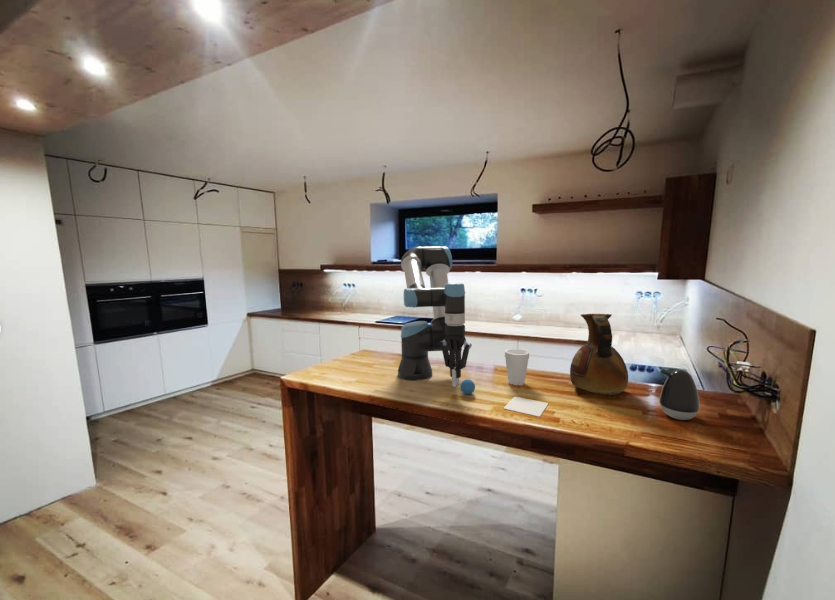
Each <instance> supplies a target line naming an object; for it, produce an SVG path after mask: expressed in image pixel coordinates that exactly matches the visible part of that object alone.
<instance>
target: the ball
mask: <svg viewBox="0 0 835 600" xmlns="http://www.w3.org/2000/svg"><path fill="white" fill-rule="evenodd" d="M459 386H460V391H461V392H462V393H463V394H465V395H471V394H473V393H474V391H475V390H476V384H475V382H474V381H473V380H472V379H468V378H467V379H463V380H462V381H461V383H460V384H459Z"/></svg>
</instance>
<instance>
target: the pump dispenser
mask: <svg viewBox="0 0 835 600" xmlns="http://www.w3.org/2000/svg"><path fill="white" fill-rule="evenodd" d="M660 373H661V374H663V375H665V376H667V378H666V380H665V381H664V384H663V385H662V389H661V390H660V391H661V392H660V394H659V400H658V401H659V404H660V407H661V409H662V411H663V413H665V414H666V415H667V416H669V417H671V418H673V419H676V420H679V421H689V420H691V419H693V418H695V416H696V415H697V414H698V412H699V411H700V404H701V403H700V397H699V391H698V388H697V384H696V382H695V381H694V380H695V379H694V378H693V376H692V375H691V374H690V372H688V371H687V370H684V369H674V370H673V371H672V372H669V371H667V370H665V369H661V370H660Z"/></svg>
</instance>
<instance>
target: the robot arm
mask: <svg viewBox="0 0 835 600" xmlns="http://www.w3.org/2000/svg"><path fill="white" fill-rule="evenodd" d="M400 267H401V270H402V271H403V272H404V278H405V284H406V288H404V289H403V305H404V307H406V308H427V307H429V308H432V312H433V319H432V320H431V322H430V324H429V323H428V321H427V320H426V321H425V320H418V321H417V320H416V321H412V322H407V323H405V324H403V325H402V327H401V328H400V340H401V342H400V344H401V346H400V347H401V350H400V351H401V358H400V362H399V366H398V370H397V376H398V378H400V379H402V380H406V381H423V380H428V379H429V378H432V376H433V368H432V366H431V362H430V359H429V352H442V355H443V361H444V365H445V367H446V368H449V376H450V378H451V386H452V387H454V388H457V387H458V386H460V378H461V377H462V372H461V371H462V370H463V369H465V368H466V366H467V362H468V358H469V352H470V349H471V348H472V343H469V342H468V341H467V339H466V325H465V323H466V303H465V302H466V290H465V284H464V283H462V282H456V283H455V282H454V283H453V282H451V283H450V282H449V279H448V278H449V277H448V274H449V273H450V270H452V268H453V255H452V253H451V249H449V247H447V246H441V245H438V246H415V247H412V248H411V249H409V250H407V251H406V252H405V253H404V254H403V256H402V257H401V260H400ZM422 271H425V273H426V275H427V276H428V277H429V282H430V287H426V285H425V281H424V278H423V274H422Z"/></svg>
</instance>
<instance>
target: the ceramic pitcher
mask: <svg viewBox="0 0 835 600" xmlns="http://www.w3.org/2000/svg"><path fill="white" fill-rule="evenodd" d="M612 315H613V314H612V313H611V314H610V313H586V314H585V313H583V314H580V316H581V317H582V318H583V319H584V321H585V323H586V325H587V329H588V336H587V337H588V338H587V341H586V343H585V344H584V345H582V346H581V347H580V348H579V349H578V350H577V351H576V353H575V354H574V356H573V357H572V360H571V363H570V367H569V375H570V377H569V378H570V382H571V384H572V385H573V386H574V387H576V388H579V389H581V390H584V391H588V392H589V393H590V392H591V393H597V394H602V395H603V394H604V395H610V396H613V395H618V394H620V393H623V392H624V391H625V390H626V389H627V387H628V384H629V371H628V368H627V365H626V363H625V360H624V358H623V357H622V355H621V354H620V353H619V351H618V350H616V348H614V347H613V346H612V344H613V332H612V327H611V323H610V320H609V319H610V318H611V317H612Z"/></svg>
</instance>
